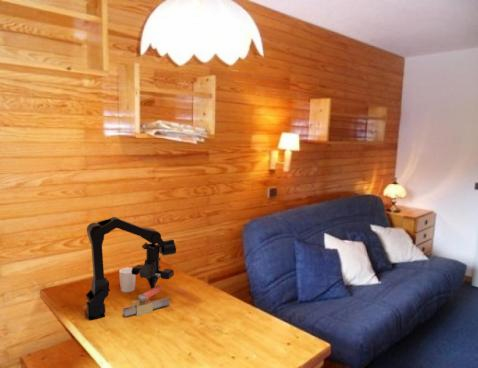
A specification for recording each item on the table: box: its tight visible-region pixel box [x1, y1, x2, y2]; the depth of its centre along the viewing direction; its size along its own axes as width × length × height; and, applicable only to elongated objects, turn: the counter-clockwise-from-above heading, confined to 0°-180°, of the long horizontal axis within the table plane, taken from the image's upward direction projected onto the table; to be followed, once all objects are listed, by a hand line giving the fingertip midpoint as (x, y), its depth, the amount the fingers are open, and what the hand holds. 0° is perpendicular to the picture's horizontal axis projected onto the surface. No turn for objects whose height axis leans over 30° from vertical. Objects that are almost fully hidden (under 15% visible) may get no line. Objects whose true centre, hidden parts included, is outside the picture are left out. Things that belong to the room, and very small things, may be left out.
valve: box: [122, 296, 171, 318], centre depth 163 cm, size 20×6×5 cm, turn 125°
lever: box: [138, 285, 163, 301], centre depth 166 cm, size 14×3×2 cm, turn 154°
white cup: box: [118, 267, 137, 293], centre depth 183 cm, size 8×8×10 cm
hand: (152, 289), depth 170 cm, fingers closed
